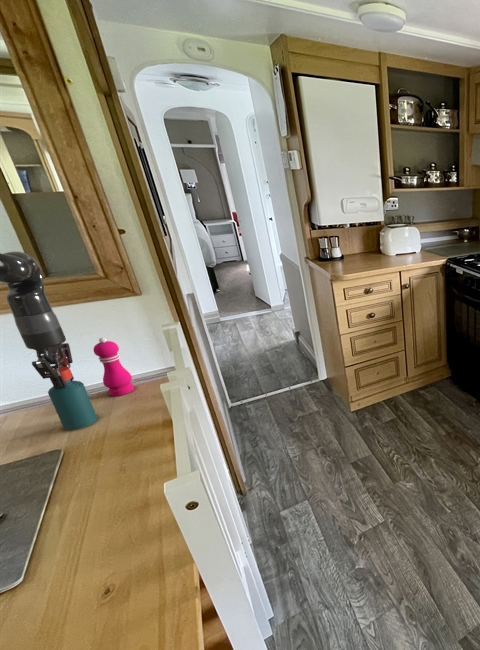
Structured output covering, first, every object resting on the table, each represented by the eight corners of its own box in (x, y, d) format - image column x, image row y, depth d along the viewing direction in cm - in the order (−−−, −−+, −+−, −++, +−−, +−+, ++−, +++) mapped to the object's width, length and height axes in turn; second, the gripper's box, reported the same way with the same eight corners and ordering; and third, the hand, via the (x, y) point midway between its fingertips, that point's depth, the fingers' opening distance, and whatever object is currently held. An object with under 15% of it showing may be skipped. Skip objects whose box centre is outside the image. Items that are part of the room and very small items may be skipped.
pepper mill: (118, 386, 132) (98, 333, 124) (140, 385, 132) (122, 333, 125) (102, 397, 125) (80, 342, 117) (125, 396, 126) (105, 341, 118)
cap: (75, 374, 109) (71, 365, 108) (68, 381, 105) (64, 372, 104) (55, 377, 107) (51, 368, 106) (48, 384, 104) (44, 374, 102)
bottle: (58, 432, 107) (34, 380, 101) (71, 418, 113) (49, 368, 107) (91, 427, 110) (69, 376, 104) (101, 414, 116) (82, 364, 110)
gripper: (45, 335, 96) (70, 393, 102) (71, 318, 108) (92, 371, 114) (4, 339, 93) (33, 399, 99) (35, 321, 105) (59, 375, 111)
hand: (64, 383), depth 107 cm, fingers closed on cap, 4 cm apart
